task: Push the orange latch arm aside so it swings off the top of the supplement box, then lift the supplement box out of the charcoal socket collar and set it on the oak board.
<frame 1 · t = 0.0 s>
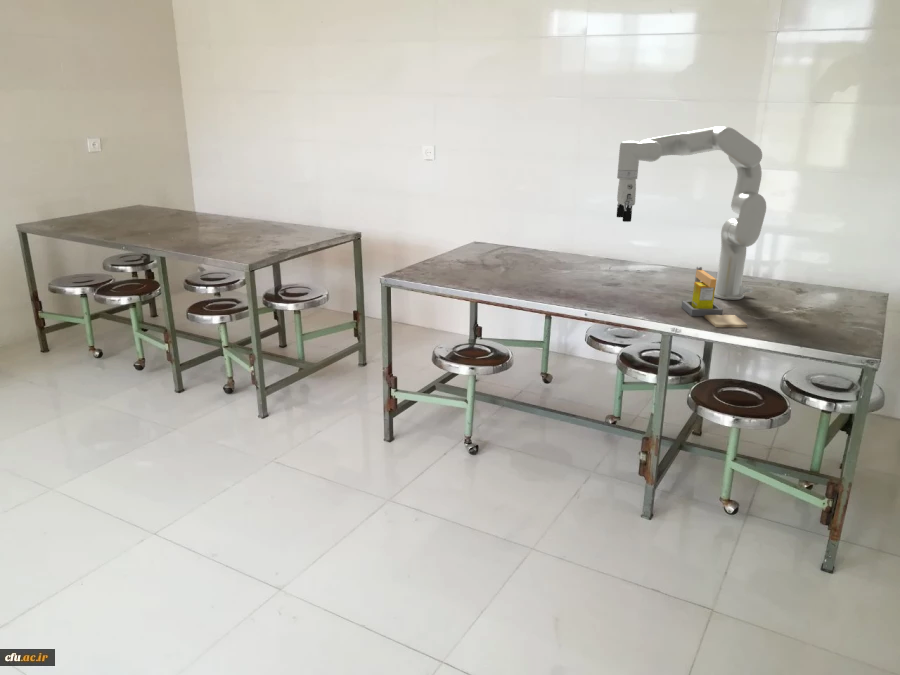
hand: (623, 219, 264), 31 cm above the table, tool pointing down, fingers open, 9 cm apart
latch arm: (703, 291, 253), point 8 cm above the table, hinge at 0.0°
socket collar: (701, 311, 255), on the table
supplement box: (701, 312, 255), resting in socket collar
oak board: (725, 322, 243), on the table
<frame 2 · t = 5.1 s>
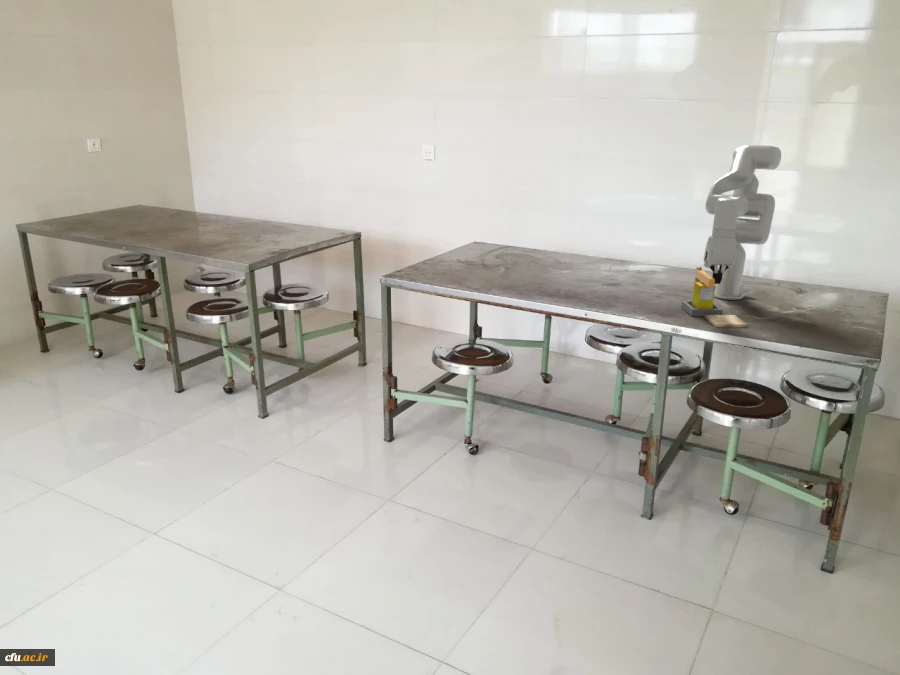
hand: (716, 282, 247), 12 cm above the table, tool pointing down, fingers closed
latch arm: (702, 291, 253), point 8 cm above the table, hinge at 2.3°, touching gripper
everything else where it was.
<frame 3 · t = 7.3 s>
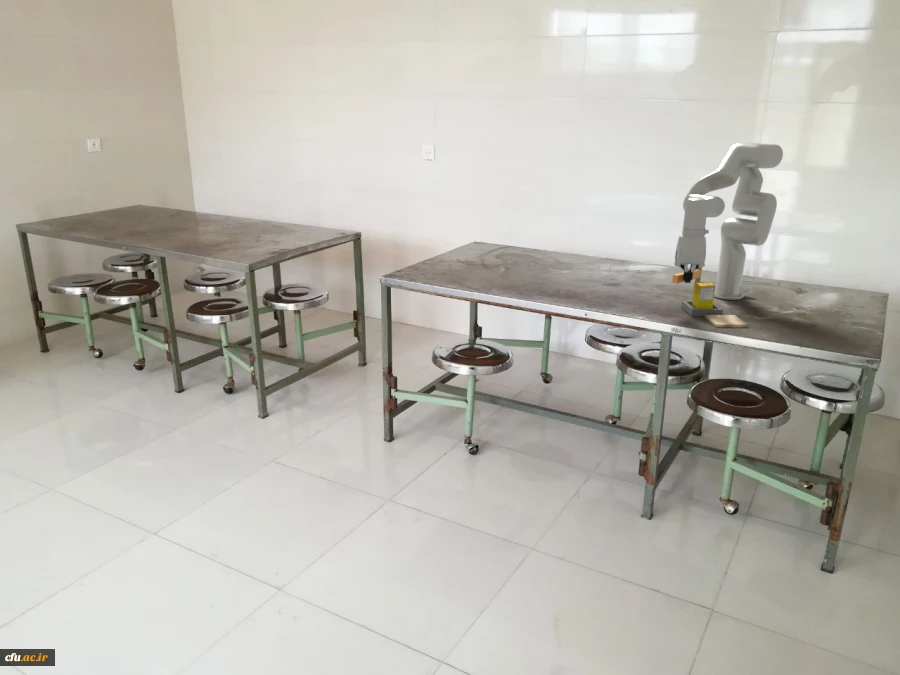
hand: (687, 282, 249), 12 cm above the table, tool pointing down, fingers closed
latch arm: (686, 289, 256), point 8 cm above the table, hinge at 52.9°, touching gripper
everything else where it was.
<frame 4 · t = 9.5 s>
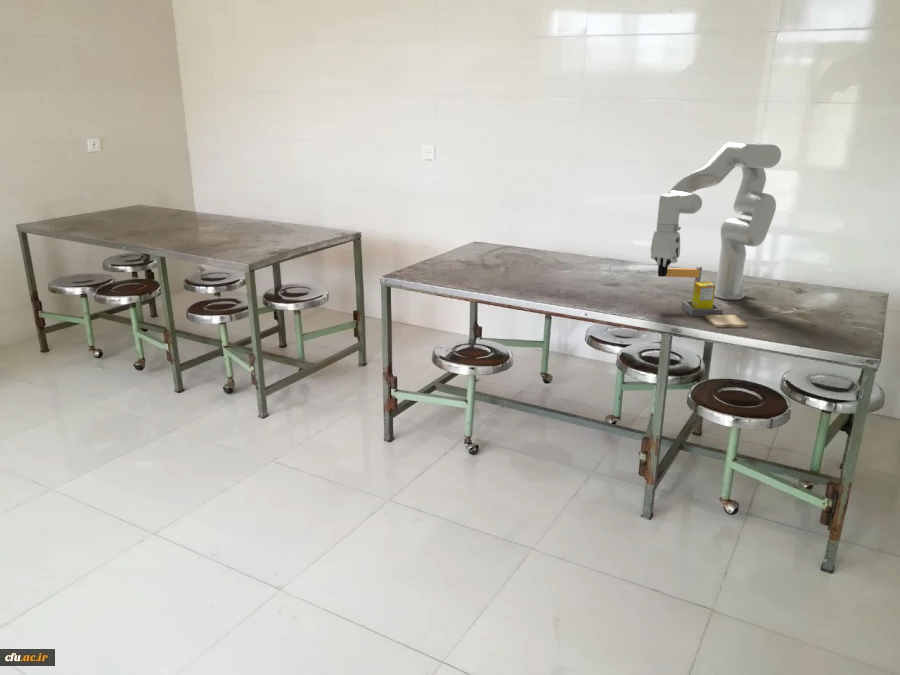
hand: (662, 275, 257), 12 cm above the table, tool pointing down, fingers closed
latch arm: (678, 285, 260), point 8 cm above the table, hinge at 96.4°, touching gripper
everything else where it was.
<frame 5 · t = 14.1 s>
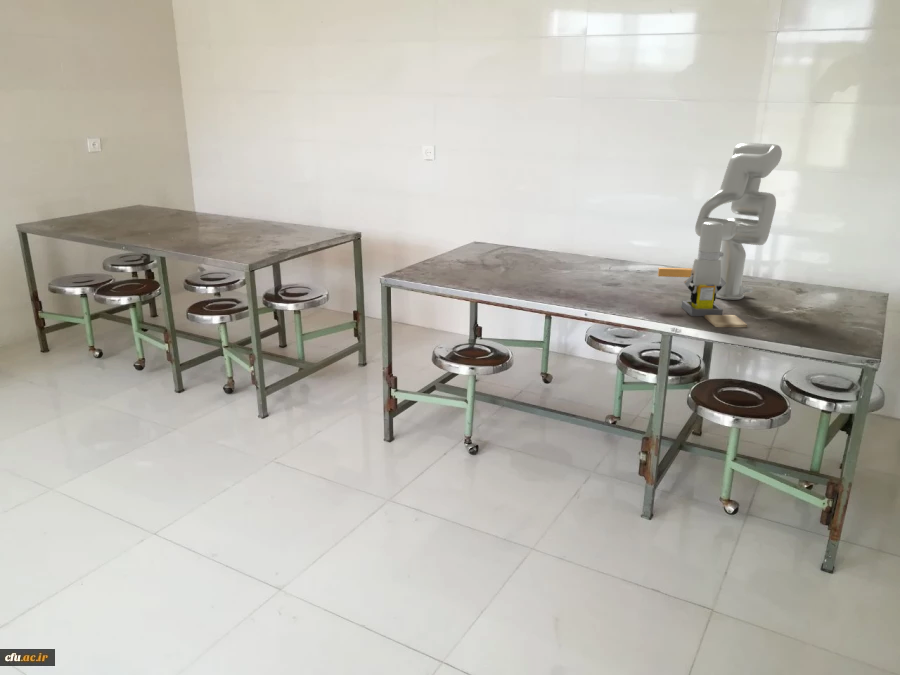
hand: (702, 302, 254), 4 cm above the table, tool pointing down, fingers closed on supplement box, 6 cm apart
latch arm: (678, 285, 260), point 8 cm above the table, hinge at 96.7°
supplement box: (701, 311, 255), resting in socket collar, touching gripper
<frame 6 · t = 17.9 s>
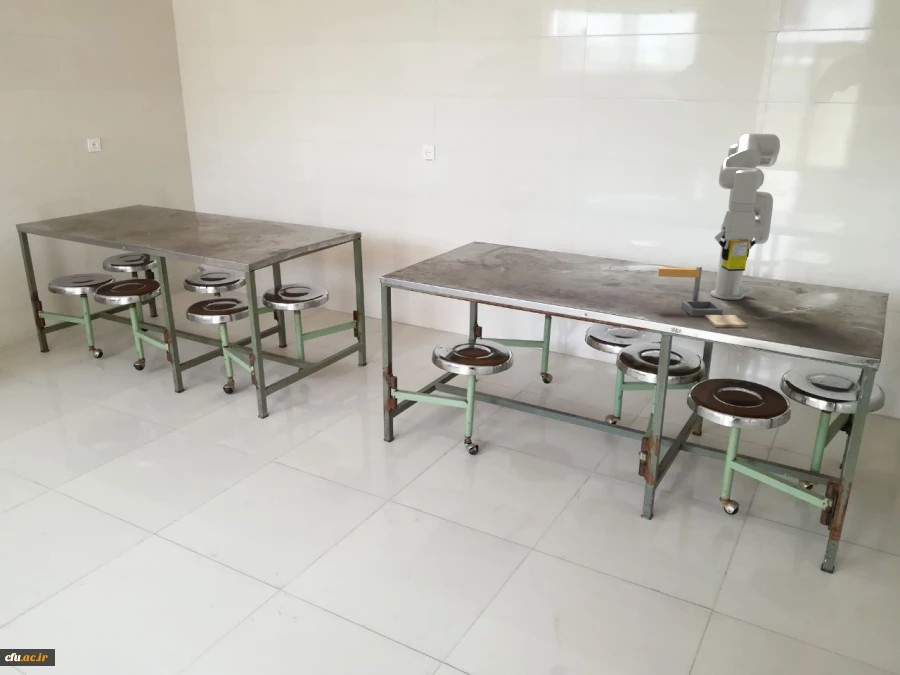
hand: (734, 259, 235), 23 cm above the table, tool pointing down, fingers closed on supplement box, 6 cm apart
supplement box: (732, 269, 237), point 19 cm above the table, touching gripper
everything else where it was.
when the fingers open (5 cm above the table, at t = 21.6 s): supplement box stays where it is, resting on oak board.
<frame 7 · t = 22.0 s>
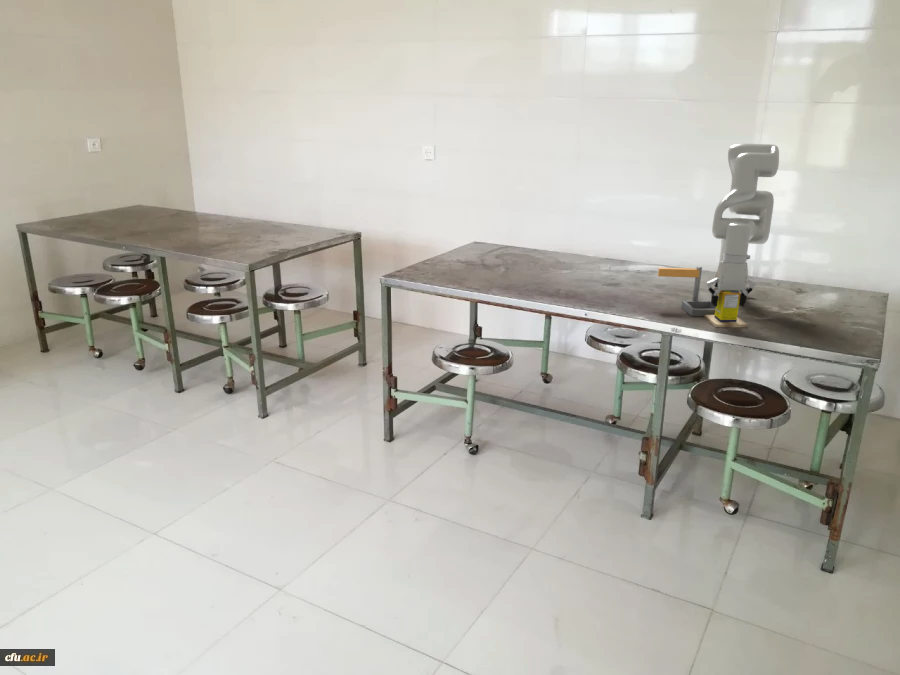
hand: (727, 305, 241), 6 cm above the table, tool pointing down, fingers open, 9 cm apart
supplement box: (725, 320, 243), point 1 cm above the table, touching oak board
everything else where it was.
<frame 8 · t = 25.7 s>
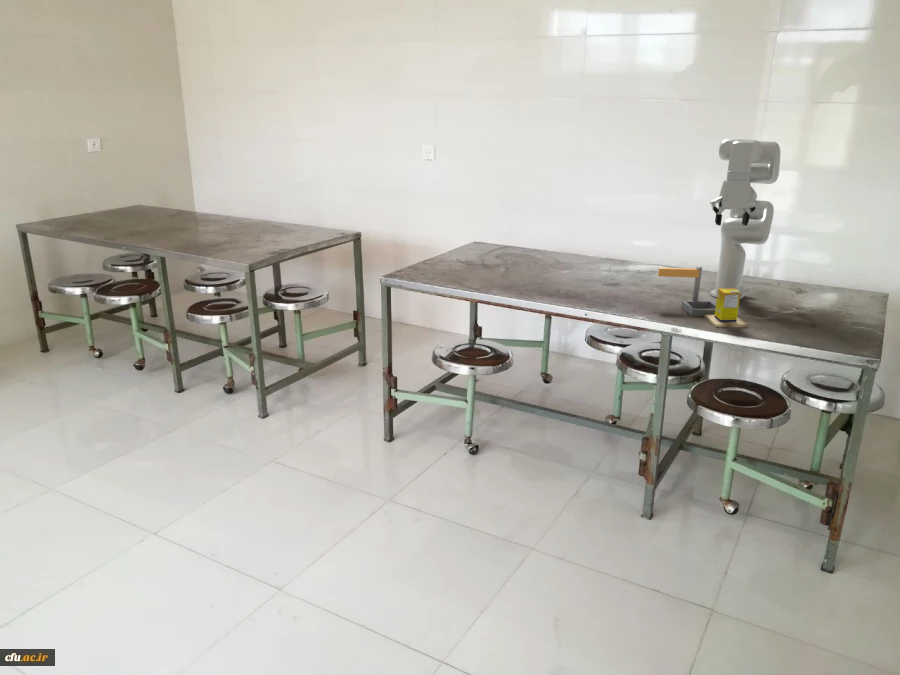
hand: (731, 224, 247), 32 cm above the table, tool pointing down, fingers open, 9 cm apart
nothing on the table moved.
at the end: latch arm at +97° (first picture: +0°); supplement box inside the target area on the oak board (0.2 cm from its centre), point 0.8 cm above the oak board's base; supplement box tilted 0° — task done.
